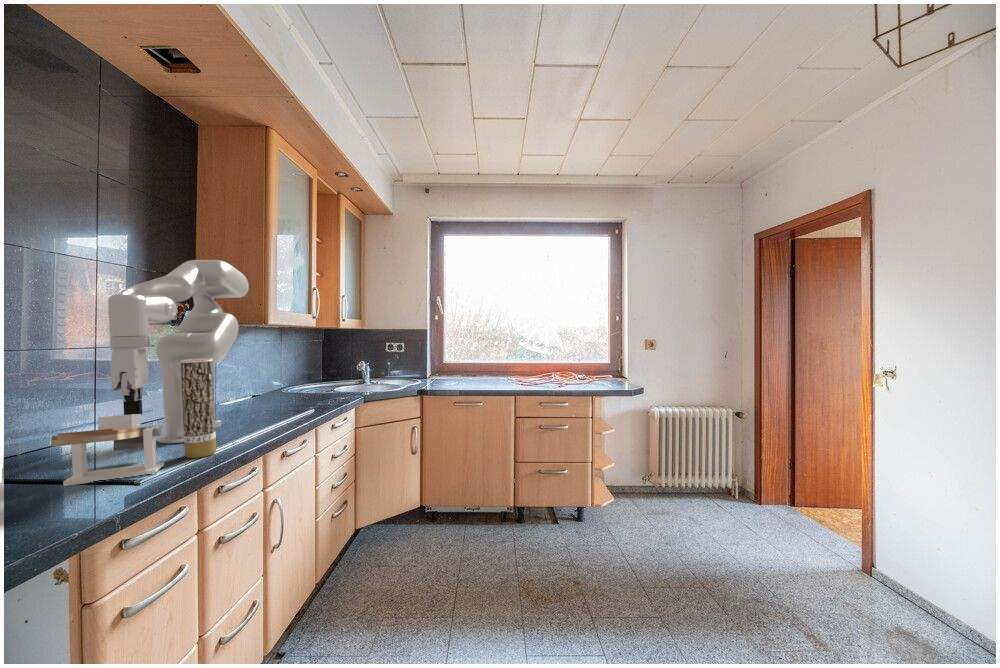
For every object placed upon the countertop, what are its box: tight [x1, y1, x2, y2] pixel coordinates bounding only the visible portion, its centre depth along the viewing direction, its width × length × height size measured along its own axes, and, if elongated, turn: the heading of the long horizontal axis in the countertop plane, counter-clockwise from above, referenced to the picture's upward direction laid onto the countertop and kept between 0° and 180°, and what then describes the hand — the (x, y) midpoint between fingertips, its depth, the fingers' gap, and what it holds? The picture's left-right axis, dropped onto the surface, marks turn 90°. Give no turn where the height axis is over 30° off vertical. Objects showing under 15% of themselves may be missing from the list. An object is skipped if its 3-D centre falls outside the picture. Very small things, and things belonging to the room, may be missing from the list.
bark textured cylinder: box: [181, 358, 217, 459], centre depth 112 cm, size 7×7×25 cm
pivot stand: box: [63, 426, 165, 487], centre depth 98 cm, size 6×17×10 cm, turn 114°
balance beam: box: [50, 425, 163, 452], centre depth 98 cm, size 28×10×5 cm, turn 23°
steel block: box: [97, 414, 142, 430], centre depth 101 cm, size 6×6×4 cm
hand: (133, 416), depth 109 cm, fingers closed
